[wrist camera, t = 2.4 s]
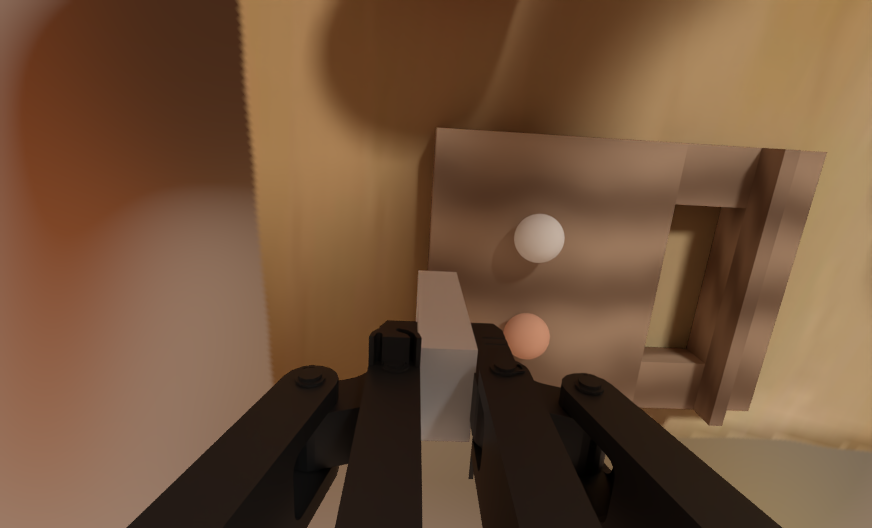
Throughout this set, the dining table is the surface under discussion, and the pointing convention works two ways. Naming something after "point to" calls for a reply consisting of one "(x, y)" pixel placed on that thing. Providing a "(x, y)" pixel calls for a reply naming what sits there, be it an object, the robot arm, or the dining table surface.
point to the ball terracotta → (527, 336)
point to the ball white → (539, 238)
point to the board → (623, 253)
